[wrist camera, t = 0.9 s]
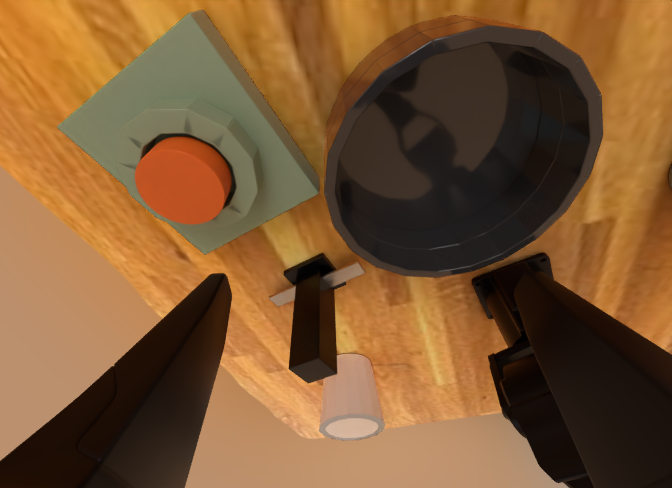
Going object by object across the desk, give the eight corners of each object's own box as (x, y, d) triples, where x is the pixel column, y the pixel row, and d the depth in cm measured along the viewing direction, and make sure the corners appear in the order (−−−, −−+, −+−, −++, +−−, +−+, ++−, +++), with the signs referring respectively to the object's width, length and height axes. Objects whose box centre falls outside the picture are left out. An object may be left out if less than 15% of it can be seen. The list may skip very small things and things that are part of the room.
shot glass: (366, 382, 41) (373, 443, 36) (314, 377, 40) (312, 439, 34) (384, 353, 37) (395, 417, 32) (326, 347, 36) (327, 412, 30)
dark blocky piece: (348, 240, 26) (358, 335, 19) (370, 270, 28) (386, 365, 21) (261, 281, 29) (241, 377, 22) (287, 305, 31) (277, 400, 24)
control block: (319, 177, 22) (319, 209, 19) (212, 237, 25) (197, 272, 22) (203, 8, 16) (174, 15, 13) (79, 114, 19) (32, 140, 16)
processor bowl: (559, 179, 23) (606, 220, 19) (380, 257, 27) (390, 303, 23) (525, -53, 15) (596, -64, 11) (280, 109, 19) (269, 141, 15)
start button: (248, 185, 18) (242, 202, 17) (192, 218, 20) (183, 236, 18) (189, 119, 16) (177, 132, 15) (131, 162, 17) (114, 177, 16)
